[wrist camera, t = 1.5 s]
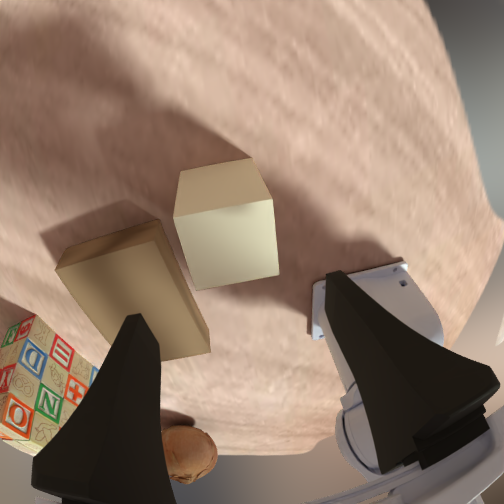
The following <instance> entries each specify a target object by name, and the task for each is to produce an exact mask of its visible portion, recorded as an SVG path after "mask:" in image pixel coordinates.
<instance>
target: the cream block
mask: <svg viewBox="0 0 504 504" xmlns="http://www.w3.org/2000/svg"><path fill="white" fill-rule="evenodd" d="M173 220H174V223H175V226H176V230H177V233H178V236H179V240H180V243H181V246H182V249H183V252H184V256H185V259H186V262H187V265H188V268H189V271H190V274H191V277H192V280H193V283H194V286H195V289H196V291H198V290H203V289H209V288H214V287H219V286H225V285H230V284H235V283H240V282H246V281H251V280H256V279H261V278H266V277H271V276H276V275H279V264H278V252H277V241H276V230H275V219H274V209H273V199H272V197H271V195H270V193H269V191H268V189H267V187H266V185H265V183H264V181H263V179H262V177H261V175H260V173H259V171H258V169H257V167H256V165H255V163H254V161H253V159H252V158H247V159H241V160H235V161H230V162H224V163H219V164H214V165H208V166H203V167H198V168H194V169H189V170H184V171H180V177H179V183H178V189H177V195H176V201H175V208H174V215H173Z"/></svg>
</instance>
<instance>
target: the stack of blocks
mask: <svg viewBox="0 0 504 504" xmlns="http://www.w3.org/2000/svg"><path fill="white" fill-rule="evenodd" d="M98 371H99V370H98V369H97V368H96V367H95V366H93V365H92V364H91V363H89V362H88V361H87V360H86V359H84V358H83V357H82V356H81V355H80V354H78V353H77V352H76V351H75V350H74V349H73V348H72V347H71V346H70V345H68V344H67V343H66V342H65V341H64V340H63V339H62V338H61V337H59V336H58V335H57V334H56V333H55V332H54V331H53V330H52V329H51V328H50V327H49V326H48V325H47V324H46V323H45V322H44V321H43V320H42V319H41V318H40V317H39V316H38V315H34V316H32V317H30V318H28V319H26V320H24V321H22V322H21V323H19V324H17V325H15V326H13V327H11V328H9V329H8V331H7V334H6V336H5V338H4V341H3V343H2V346H1V349H0V438H2V440H3V441H4V442H6V443H8V444H9V445H11V446H13V447H15V448H17V449H18V450H20V451H23V452H24V453H28V454H30V455H32V456H35V455H36V454H37V453H38V452H39V451H40V450H41V449H43V448H44V447H45V446H46V445H47V444H48V443H49V441H50V440H51V439H52V438H53V437H54V436H55V435H56V434H57V433H58V431H59V430H60V429H61V428H62V427H63V425H64V424H65V423H66V422H67V420H68V419H69V417H70V416H71V415H72V413H73V412H74V411H75V409H76V408H77V406H78V405H79V404H80V402H81V401H82V399H83V397H84V396H85V394H86V393H87V391H88V389H89V388H90V386H91V384H92V382H93V381H94V379H95V377H96V375H97V373H98Z"/></svg>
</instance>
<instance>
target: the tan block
mask: <svg viewBox="0 0 504 504" xmlns="http://www.w3.org/2000/svg"><path fill="white" fill-rule="evenodd" d="M55 272H56V273H57V275H58V276H59V278H60V279H61V281H62V282H63V284H64V285H65V286H66V288H67V289H68V291H69V292H70V294H71V295H72V296H73V298H74V299H75V300H76V302H77V303H78V305H79V306H80V307H81V309H82V310H83V311H84V313H85V314H86V315H87V316H88V318H89V319H90V320H91V322H92V323H93V324H94V325H95V327H96V328H97V329H98V330H99V332H100V333H101V334H102V335H103V337H104V338H105V339H106V340H107V341H108V343H109V344H110V345H111V346H112V344H113V342H114V340H115V338H116V336H117V334H118V332H119V330H120V328H121V326H122V324H123V322H124V320H125V318H126V316H127V315H132V314H138V313H141V314H142V316H143V318H144V319H145V321H146V323H147V324H148V326H149V328H150V330H151V331H152V333H153V334H154V336H155V338H156V339H157V341H158V343H159V346H160V358H161V362H162V361H168V360H174V359H179V358H185V357H190V356H195V355H201V354H206V353H211V349H210V336H209V329H208V327H207V325H206V323H205V321H204V319H203V316H202V314H201V312H200V310H199V308H198V306H197V304H196V302H195V300H194V298H193V296H192V293H191V291H190V289H189V287H188V285H187V283H186V280H185V278H184V276H183V274H182V272H181V269H180V267H179V265H178V263H177V260H176V258H175V256H174V253H173V251H172V249H171V247H170V244H169V242H168V239H167V237H166V235H165V232H164V230H163V228H162V225H161V223H160V220H159V219H157V220H154V221H150V222H147V223H144V224H140V225H137V226H134V227H130V228H127V229H124V230H121V231H118V232H115V233H111V234H108V235H105V236H102V237H99V238H96V239H93V240H90V241H87V242H84V243H81V244H78V245H75V246H72V247H70V248H67V249H66V250H65V251H64V253H63V255H62V257H61V259H60V261H59V263H58V265H57V267H56V269H55Z"/></svg>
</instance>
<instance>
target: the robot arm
mask: <svg viewBox="0 0 504 504" xmlns="http://www.w3.org/2000/svg"><path fill="white" fill-rule="evenodd" d="M407 267H408V264H407V263H406V262H405V261H402V262H398V263H394V264H390V265H386V266H382V267H378V268H374V269H370V270H366V271H361V272H357V273H353V274H349V275H346V274H345V273H344V272H342V271H341V270H340V271H336V272H332V273H328V274H326V280H322V281H318V282H316V283H315V284H314V285H313V300H312V329H311V337H312V339H313V340H319V339H323V338H325V340H326V342H327V345H328V347H329V350H330V352H331V355H332V357H333V360H334V363H335V365H336V368H337V370H338V373H339V375H340V378H341V381H342V383H343V386H344V389H345V391H346V395H344V396H343V397H341V398H340V401H341V403H342V406H343V409H342V410H340V411H339V413H338V415H337V417H336V424H335V436H336V440H337V444H338V447H339V449H340V451H341V453H342V455H343V457H344V458H345V460H346V461H347V462H348V463H349V464H350V465H351V466H352V467H354V468H355V469H357V470H358V471H359V472H360V473H361V474H362V475H363V476H364V478H365V479H366V480H367V481H368V483H366V484H363V485H361V486H358V487H355V488H352V489H349V490H347V491H343V492H340V493H337V494H334V495H330V496H327V497H324V498H320V499H316V500H313V501H308V502H304V503H301V504H356V503H359V502H362V501H364V500H367V499H370V498H372V497H375V496H377V495H380V494H382V493H385V492H389V493H388V496H387V497H386V498H383V499H380V500H377V501H375V502H372V503H370V504H484V503H483V500H482V499H481V496H480V494H481V493H482V492H483V491H484V490H485V489H486V488H488V487H489V486H490V485H491V484H492V483H493V482H494V481H495V480H496V479H497V478H499V477H500V476H501V475H502V474H503V473H504V405H503V406H502V407H501V408H499V409H498V410H497V411H496V412H494V413H493V414H491V415H490V416H489V417H487V418H486V419H485V417H484V415H483V414H484V413H485V412H486V409H485V407H484V405H483V404H484V403H485V402H486V401H487V400H488V399H489V398H490V397H492V396H493V395H494V394H495V393H496V392H497V391H498V389H499V388H500V382H499V381H498V379H497V377H496V375H495V374H494V372H493V371H492V369H491V368H490V366H487V365H485V364H482V363H479V362H476V361H473V360H470V359H468V358H466V357H463V356H461V355H458V354H456V353H454V352H452V351H450V350H448V349H446V348H444V347H443V343H444V334H443V328H442V324H441V321H440V319H439V316H438V314H437V313H436V311H435V309H434V308H433V307H432V305H431V304H430V302H429V301H428V300H427V298H426V297H425V295H424V294H423V293H422V291H421V290H420V289H419V287H418V286H417V285H416V283H415V282H414V281H413V279H412V278H411V277H410V275H409V274H408V273H407ZM324 285H325V286H324ZM160 390H161V358H160V346H159V343H158V341H157V339H156V338H155V336H154V334H153V333H152V331H151V330H150V328H149V326H148V324H147V323H146V321H145V319H144V318H143V316H142V314H141V313H138V314H132V315H127V316H126V318H125V320H124V322H123V324H122V326H121V328H120V330H119V332H118V334H117V336H116V338H115V340H114V342H113V344H112V346H111V348H110V350H109V352H108V354H107V356H106V358H105V360H104V362H103V364H102V366H101V368H100V370H99V371H98V373H97V375H96V377H95V379H94V381H93V382H92V384H91V386H90V388H89V389H88V391H87V393H86V394H85V396H84V397H83V399H82V401H81V402H80V404H79V405H78V406H77V408H76V409H75V411H74V412H73V413H72V415H71V416H70V417H69V419H68V420H67V422H66V423H65V424H64V425H63V427H62V428H61V429H60V430H59V431H58V433H57V434H56V435H55V436H54V437H53V438H52V439H51V440H50V441H49V443H48V444H47V445H46V446H45V447H44V448H43V449H41V450H40V451H39V452H38V453H37V454H36V455H35V456H34V457H33V465H32V479H31V485H32V486H33V487H34V488H35V489H38V490H40V491H43V492H46V493H48V494H51V495H54V496H57V497H60V498H62V503H59V502H55V501H52V500H48V499H44V498H41V497H38V496H37V497H36V500H35V502H36V503H35V504H176V500H175V497H174V494H173V490H172V487H171V483H170V479H169V474H168V470H167V465H166V460H165V454H164V448H163V442H162V434H161V425H160Z"/></svg>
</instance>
